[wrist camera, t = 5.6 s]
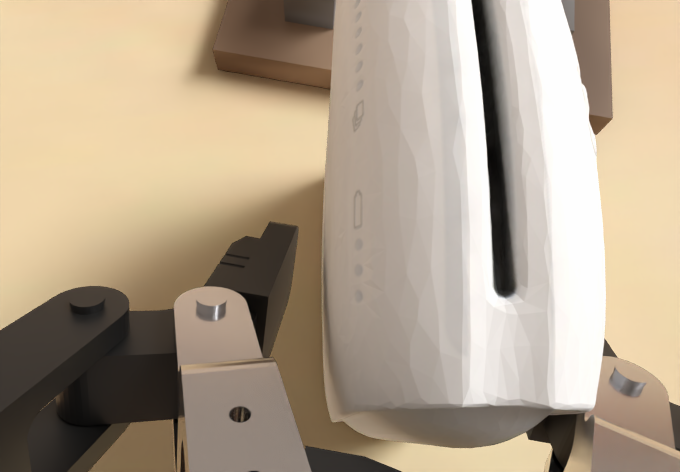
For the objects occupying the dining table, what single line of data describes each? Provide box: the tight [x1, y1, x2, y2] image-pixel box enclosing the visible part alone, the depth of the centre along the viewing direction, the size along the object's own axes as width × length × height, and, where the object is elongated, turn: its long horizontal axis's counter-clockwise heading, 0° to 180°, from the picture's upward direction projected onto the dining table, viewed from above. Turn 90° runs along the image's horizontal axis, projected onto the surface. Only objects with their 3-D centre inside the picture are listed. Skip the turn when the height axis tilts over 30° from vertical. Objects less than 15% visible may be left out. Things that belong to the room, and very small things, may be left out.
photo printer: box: [322, 0, 606, 448], centre depth 12 cm, size 10×4×12 cm, turn 0°
